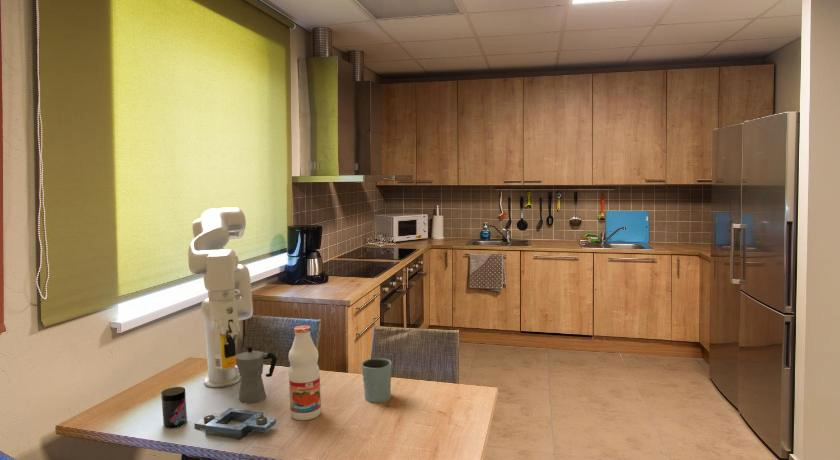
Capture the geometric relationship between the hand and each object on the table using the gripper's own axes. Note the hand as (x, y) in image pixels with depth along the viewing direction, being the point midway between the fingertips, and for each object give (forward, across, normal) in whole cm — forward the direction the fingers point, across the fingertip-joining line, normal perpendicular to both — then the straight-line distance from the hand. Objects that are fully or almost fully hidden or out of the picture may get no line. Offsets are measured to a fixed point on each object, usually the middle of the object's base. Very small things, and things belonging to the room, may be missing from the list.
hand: (225, 353), depth 170 cm
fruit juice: (+22, -10, -20) cm, 32 cm away
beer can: (+5, 0, 0) cm, 5 cm away
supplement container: (+22, +12, +11) cm, 28 cm away
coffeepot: (+22, +13, -15) cm, 30 cm away
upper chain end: (+21, -6, -2) cm, 22 cm away
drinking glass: (+22, -16, -44) cm, 52 cm away
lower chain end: (+22, -1, +1) cm, 22 cm away
